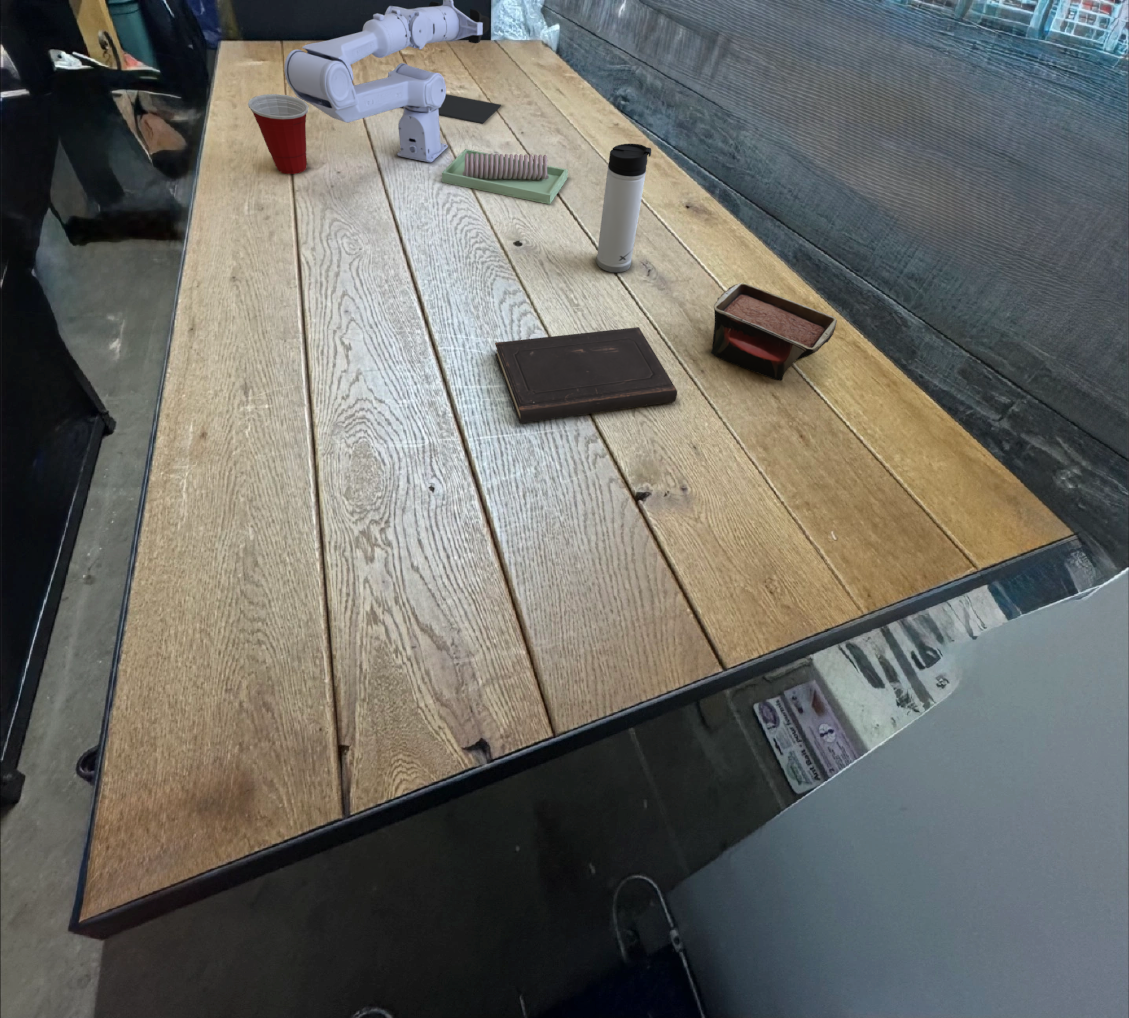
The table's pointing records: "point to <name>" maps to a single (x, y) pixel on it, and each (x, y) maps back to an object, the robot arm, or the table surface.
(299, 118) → the plastic cup
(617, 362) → the hardcover book
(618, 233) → the travel mug
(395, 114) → the table surface
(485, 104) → the mat
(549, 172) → the tray
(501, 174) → the coil
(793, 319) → the baking dish
